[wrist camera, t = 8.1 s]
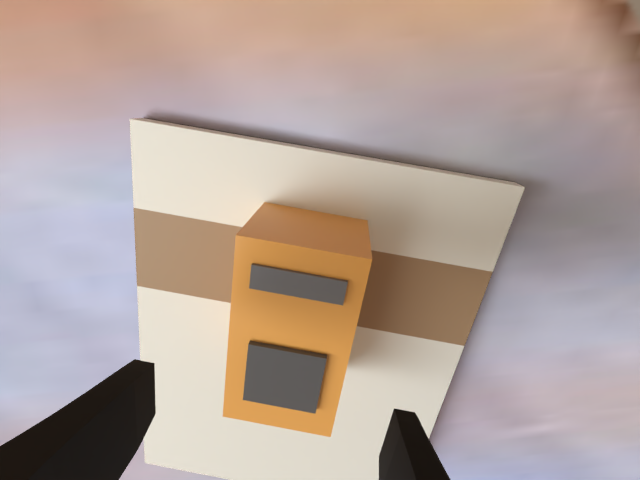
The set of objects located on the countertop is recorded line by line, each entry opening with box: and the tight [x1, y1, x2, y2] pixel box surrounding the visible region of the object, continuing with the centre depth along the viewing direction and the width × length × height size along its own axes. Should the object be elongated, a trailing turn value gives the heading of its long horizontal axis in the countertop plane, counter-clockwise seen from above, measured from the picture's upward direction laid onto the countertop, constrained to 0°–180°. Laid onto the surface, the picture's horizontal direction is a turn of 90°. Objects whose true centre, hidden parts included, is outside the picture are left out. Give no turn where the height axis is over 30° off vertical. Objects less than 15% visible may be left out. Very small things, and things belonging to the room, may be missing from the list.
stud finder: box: [223, 202, 372, 437], centre depth 16 cm, size 5×9×5 cm, turn 171°
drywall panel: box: [130, 118, 525, 480], centre depth 21 cm, size 18×23×1 cm
